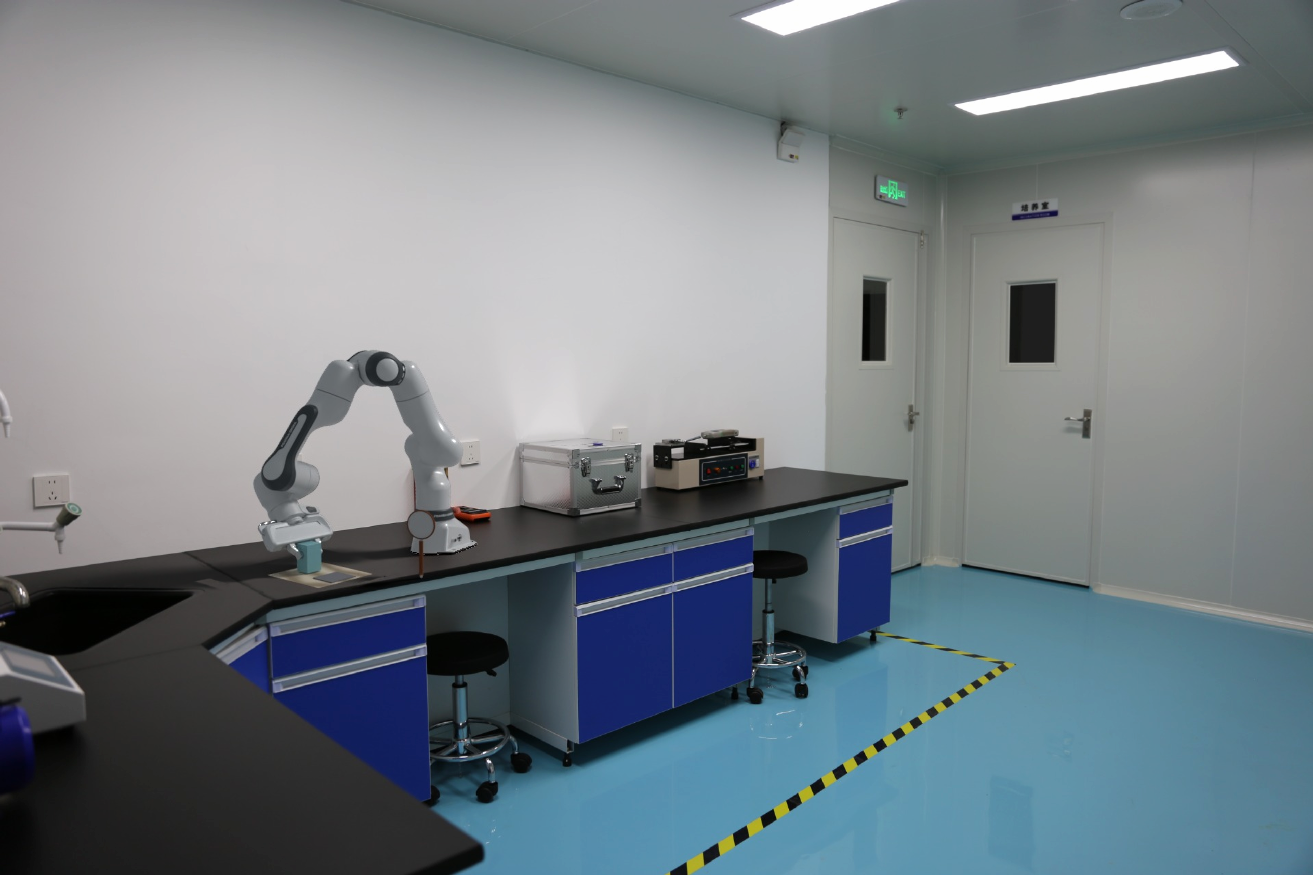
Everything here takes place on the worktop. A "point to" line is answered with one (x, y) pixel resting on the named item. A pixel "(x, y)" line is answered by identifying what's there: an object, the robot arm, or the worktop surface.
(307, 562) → the teal pillar
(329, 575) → the pad
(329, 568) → the post board
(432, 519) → the magnifying glass
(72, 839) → the worktop surface
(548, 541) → the worktop surface
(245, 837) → the worktop surface
